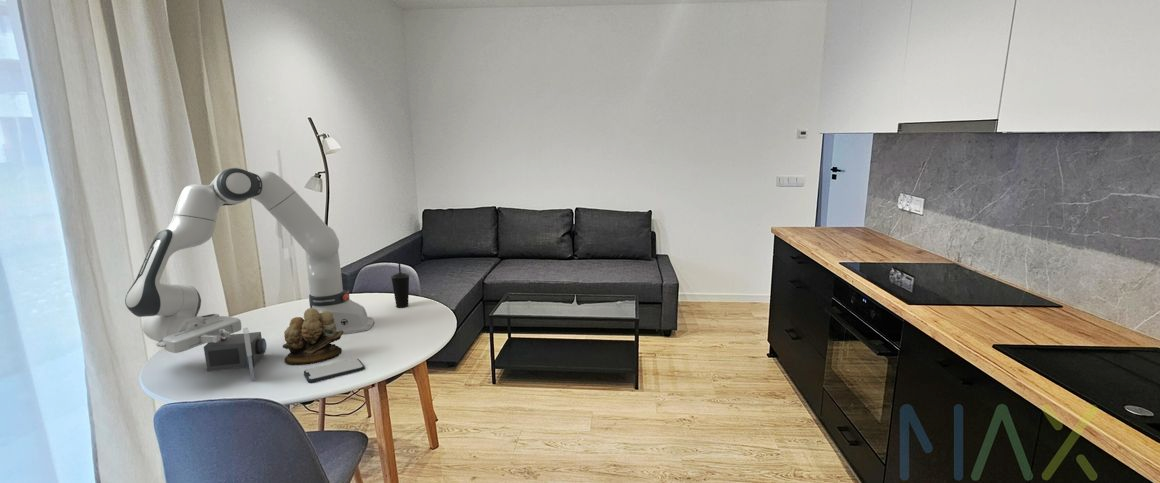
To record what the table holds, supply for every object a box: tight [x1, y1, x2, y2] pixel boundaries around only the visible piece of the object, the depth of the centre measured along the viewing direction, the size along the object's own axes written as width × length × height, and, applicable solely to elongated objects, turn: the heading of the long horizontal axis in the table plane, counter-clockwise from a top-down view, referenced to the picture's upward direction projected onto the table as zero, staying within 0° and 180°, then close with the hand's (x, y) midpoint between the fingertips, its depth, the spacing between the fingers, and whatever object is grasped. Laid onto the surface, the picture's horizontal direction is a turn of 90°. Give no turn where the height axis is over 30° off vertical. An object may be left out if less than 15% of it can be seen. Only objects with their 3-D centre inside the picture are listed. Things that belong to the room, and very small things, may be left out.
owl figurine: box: [282, 307, 344, 366], centre depth 168 cm, size 18×12×17 cm, turn 119°
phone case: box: [303, 358, 366, 384], centre depth 159 cm, size 9×2×16 cm
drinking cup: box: [390, 260, 411, 309], centre depth 219 cm, size 8×8×20 cm
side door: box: [242, 327, 256, 382], centre depth 156 cm, size 12×1×15 cm, turn 36°
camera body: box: [203, 331, 267, 372], centre depth 165 cm, size 15×10×9 cm, turn 106°
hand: (223, 337), depth 152 cm, fingers closed
